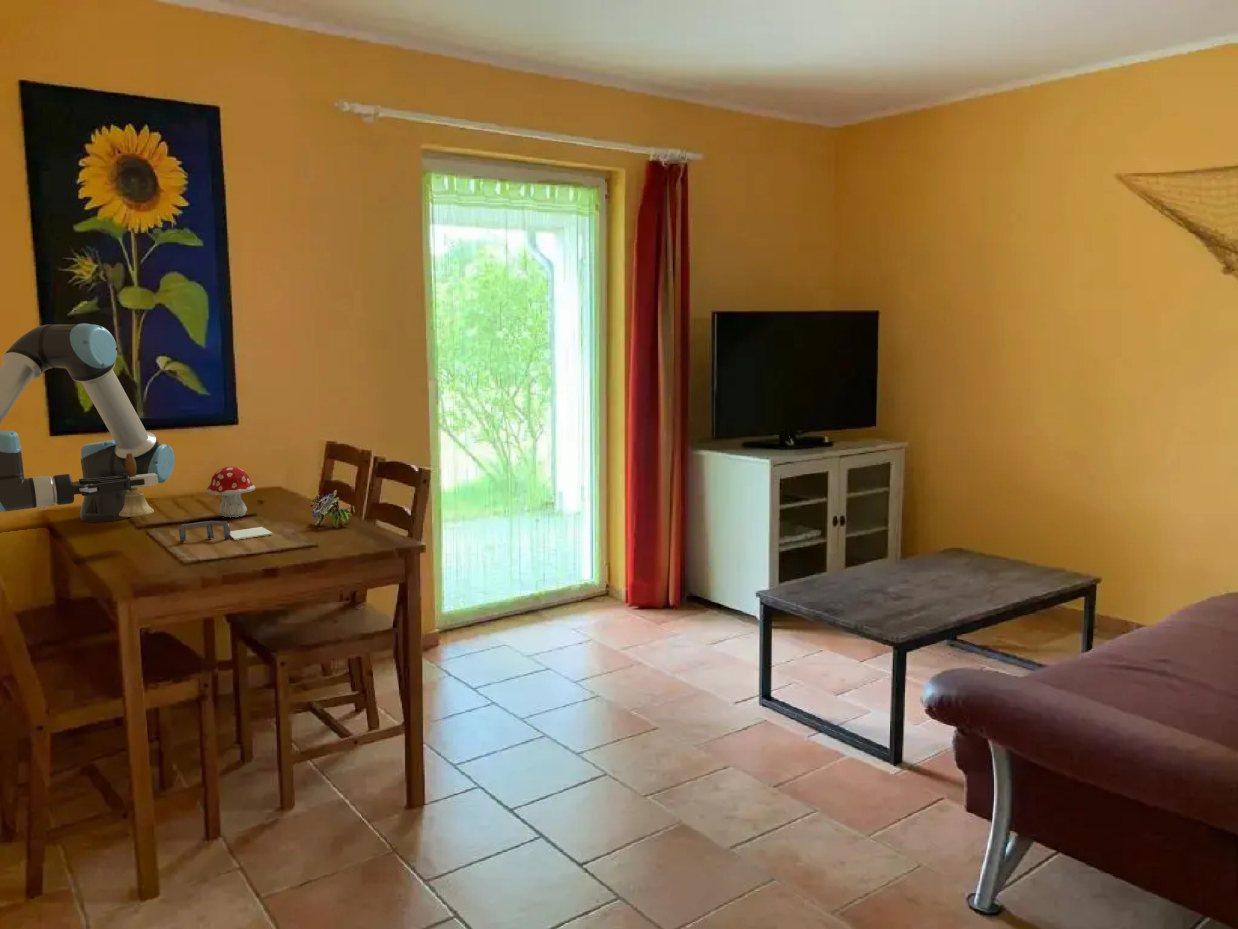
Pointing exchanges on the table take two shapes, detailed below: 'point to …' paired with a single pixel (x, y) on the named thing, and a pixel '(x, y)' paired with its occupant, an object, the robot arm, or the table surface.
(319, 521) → the passion flower
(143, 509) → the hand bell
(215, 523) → the gray stand
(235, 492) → the decorative mushroom
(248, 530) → the pad
